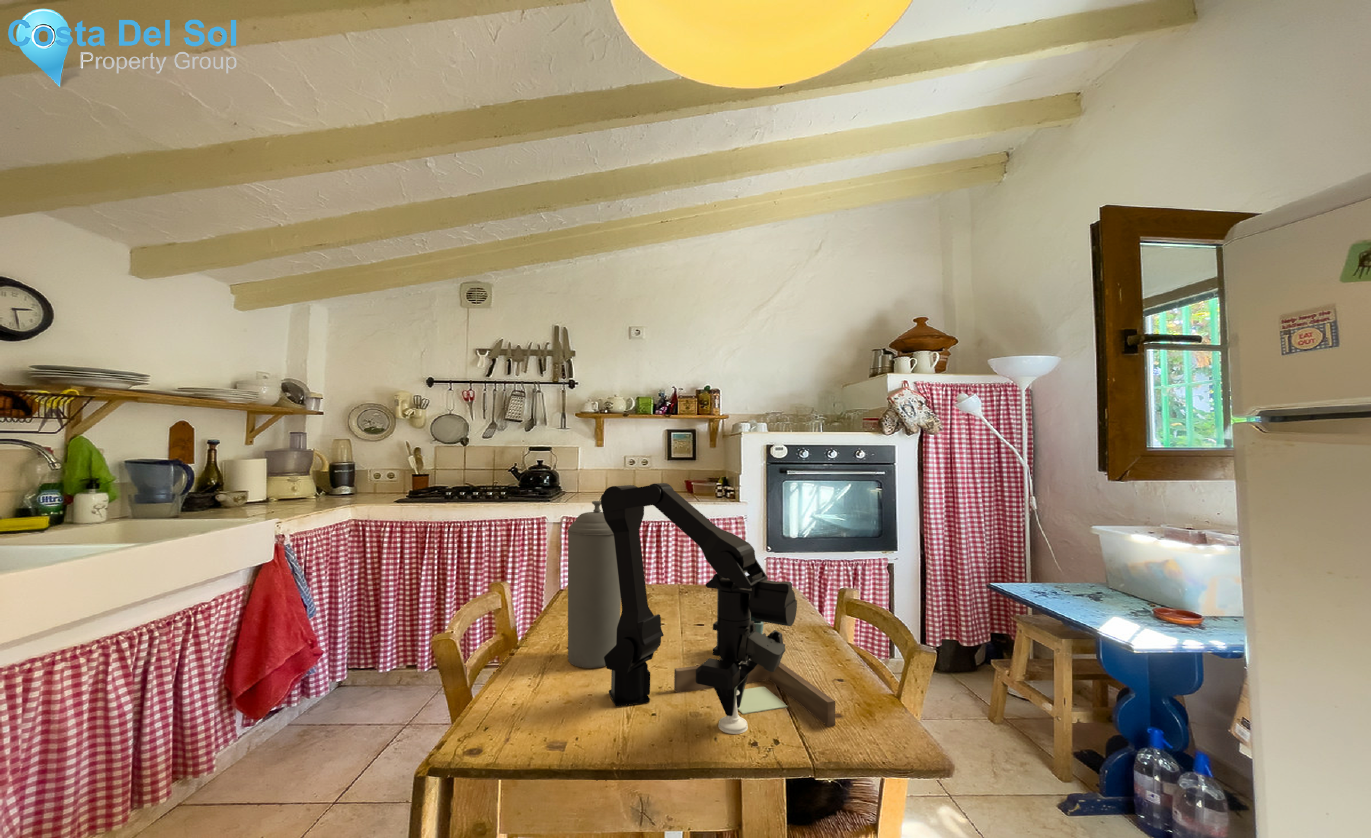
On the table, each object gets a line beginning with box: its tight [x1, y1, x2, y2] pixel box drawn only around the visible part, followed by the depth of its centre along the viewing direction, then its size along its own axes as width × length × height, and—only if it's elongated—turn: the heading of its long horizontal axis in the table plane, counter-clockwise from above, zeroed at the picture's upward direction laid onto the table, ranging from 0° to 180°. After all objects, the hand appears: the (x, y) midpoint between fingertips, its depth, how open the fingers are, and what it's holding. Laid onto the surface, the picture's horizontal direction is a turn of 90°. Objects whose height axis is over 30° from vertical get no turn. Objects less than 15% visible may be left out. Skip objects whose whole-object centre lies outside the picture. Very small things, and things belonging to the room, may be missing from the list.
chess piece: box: [718, 690, 749, 735], centre depth 92 cm, size 5×5×10 cm
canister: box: [566, 500, 622, 669], centre depth 122 cm, size 13×13×35 cm
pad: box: [737, 686, 789, 715], centre depth 102 cm, size 9×9×1 cm
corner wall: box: [673, 661, 836, 728], centre depth 100 cm, size 22×22×4 cm
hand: (733, 711), depth 92 cm, fingers open, 3 cm apart
